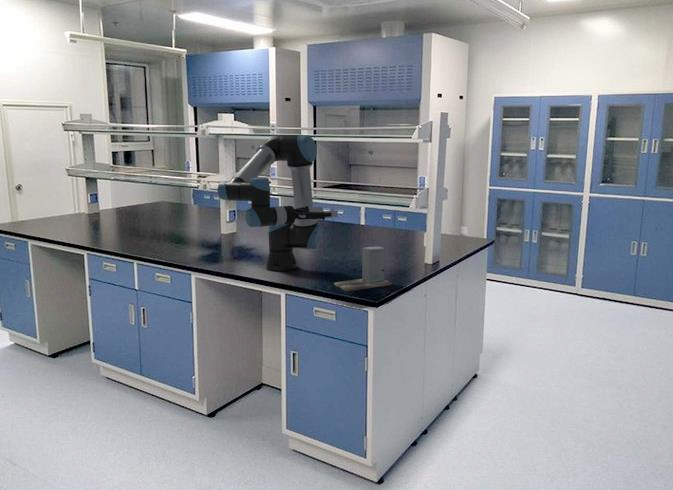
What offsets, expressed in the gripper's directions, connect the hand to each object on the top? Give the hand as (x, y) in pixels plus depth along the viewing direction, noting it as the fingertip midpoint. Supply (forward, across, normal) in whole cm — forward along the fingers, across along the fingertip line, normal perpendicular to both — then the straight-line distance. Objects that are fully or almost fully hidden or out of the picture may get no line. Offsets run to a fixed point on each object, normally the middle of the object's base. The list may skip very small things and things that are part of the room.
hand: (329, 211), depth 234 cm
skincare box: (+17, +8, -31) cm, 36 cm away
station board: (+12, +8, -32) cm, 35 cm away
